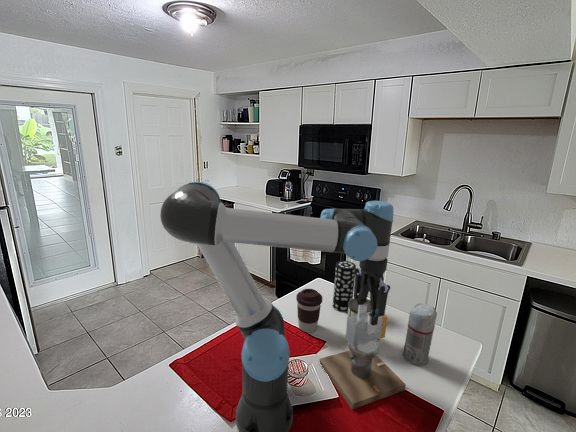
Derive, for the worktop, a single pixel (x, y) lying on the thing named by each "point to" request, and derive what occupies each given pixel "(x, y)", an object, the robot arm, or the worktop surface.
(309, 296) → the coffee cup
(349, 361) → the base
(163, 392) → the worktop surface
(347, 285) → the white-spotted black cylinder
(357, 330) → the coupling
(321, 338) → the worktop surface
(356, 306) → the coffee can
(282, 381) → the robot arm
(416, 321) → the spray can
